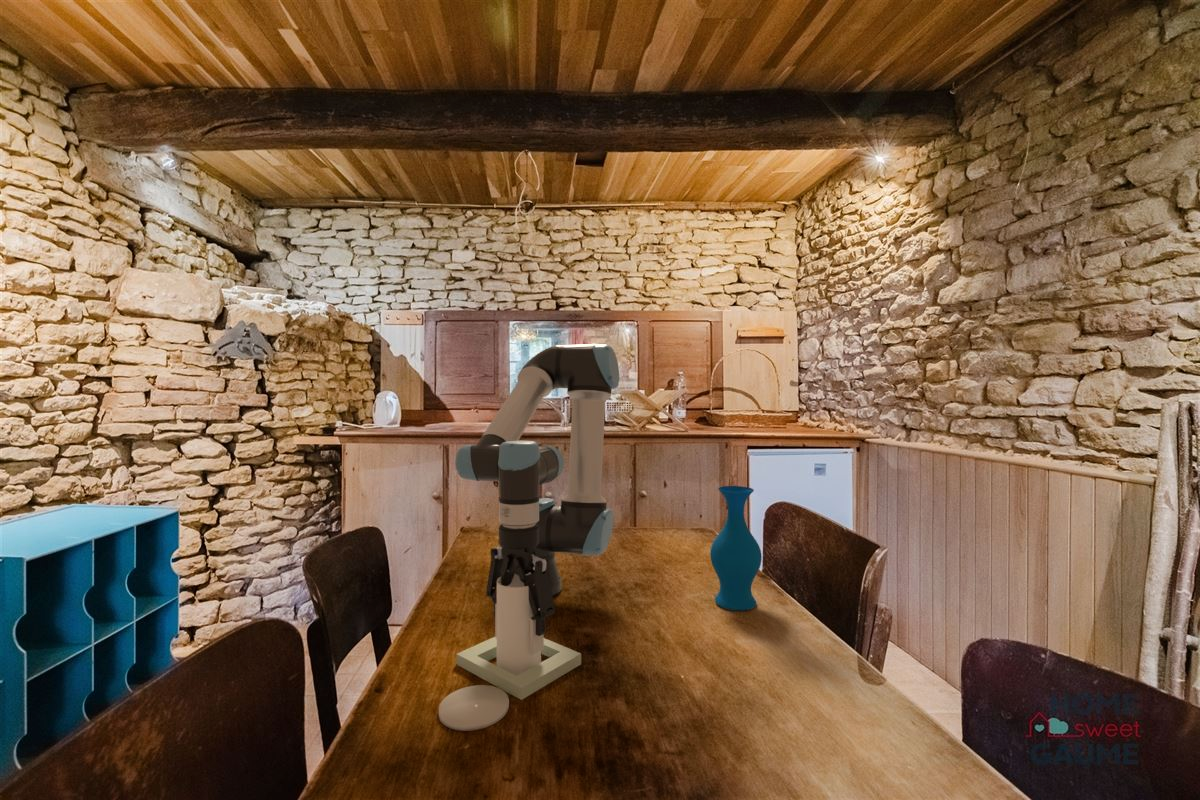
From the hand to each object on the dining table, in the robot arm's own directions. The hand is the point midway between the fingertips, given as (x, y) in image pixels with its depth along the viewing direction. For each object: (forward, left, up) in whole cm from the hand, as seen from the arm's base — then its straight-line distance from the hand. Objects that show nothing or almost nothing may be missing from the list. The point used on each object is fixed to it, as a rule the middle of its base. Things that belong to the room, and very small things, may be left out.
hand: (518, 643), depth 98 cm
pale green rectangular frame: (0, 0, -4) cm, 4 cm away
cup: (0, 0, -4) cm, 4 cm away
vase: (+19, +53, -4) cm, 56 cm away
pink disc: (+5, -14, -4) cm, 15 cm away
